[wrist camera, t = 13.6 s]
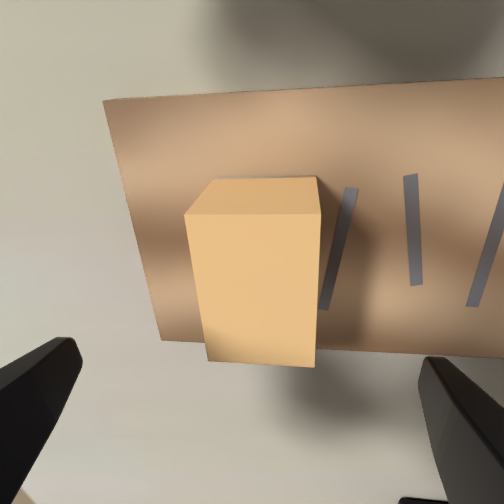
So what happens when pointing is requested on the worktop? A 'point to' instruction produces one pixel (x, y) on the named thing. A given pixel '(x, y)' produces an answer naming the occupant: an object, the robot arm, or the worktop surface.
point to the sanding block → (257, 268)
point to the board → (339, 203)
